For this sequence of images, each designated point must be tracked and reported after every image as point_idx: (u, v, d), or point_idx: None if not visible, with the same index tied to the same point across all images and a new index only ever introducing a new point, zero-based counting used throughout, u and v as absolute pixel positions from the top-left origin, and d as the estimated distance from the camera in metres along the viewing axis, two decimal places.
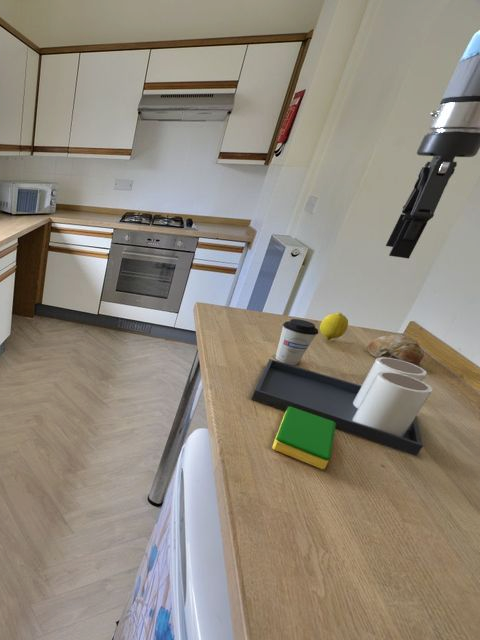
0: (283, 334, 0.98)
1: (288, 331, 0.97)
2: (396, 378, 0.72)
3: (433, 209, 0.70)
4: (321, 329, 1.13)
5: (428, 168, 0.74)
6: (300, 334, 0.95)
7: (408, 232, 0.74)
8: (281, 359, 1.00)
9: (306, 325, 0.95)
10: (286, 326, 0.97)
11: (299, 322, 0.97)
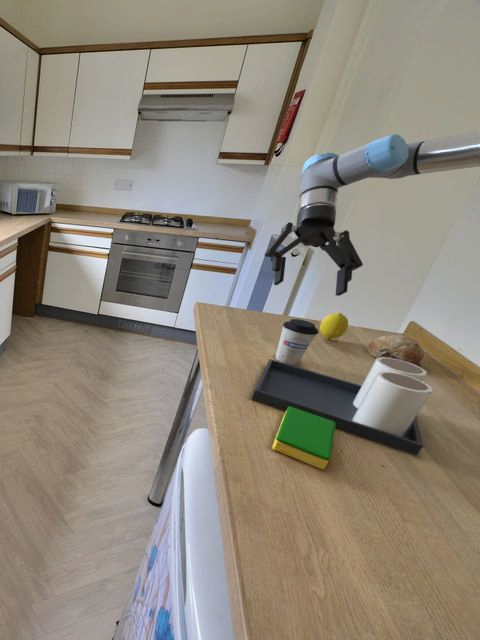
0: (283, 334, 0.98)
1: (288, 331, 0.97)
2: (396, 378, 0.72)
3: (271, 247, 1.02)
4: (321, 329, 1.13)
5: None
6: (300, 334, 0.95)
7: (272, 265, 1.03)
8: (281, 359, 1.00)
9: (306, 325, 0.95)
10: (286, 326, 0.97)
11: (299, 322, 0.97)
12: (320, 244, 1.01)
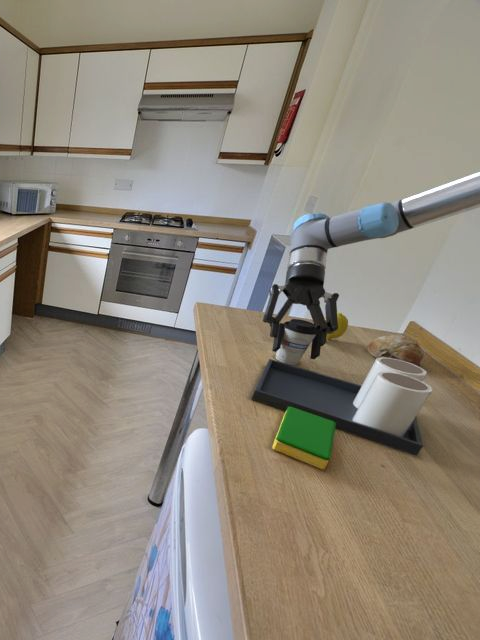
0: (283, 334, 0.98)
1: (288, 331, 0.97)
2: (396, 378, 0.72)
3: (266, 313, 1.01)
4: None
5: None
6: (300, 334, 0.95)
7: (270, 331, 1.00)
8: (281, 359, 1.00)
9: (306, 325, 0.95)
10: (286, 326, 0.97)
11: (299, 322, 0.97)
12: (308, 302, 0.99)
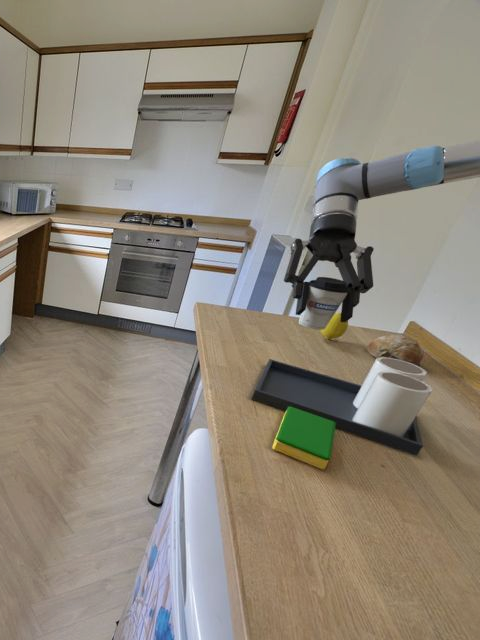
0: (308, 294, 0.85)
1: (314, 289, 0.83)
2: (396, 378, 0.72)
3: (288, 271, 0.87)
4: None
5: None
6: (329, 293, 0.82)
7: (293, 292, 0.87)
8: (306, 324, 0.86)
9: (336, 282, 0.82)
10: (312, 284, 0.84)
11: (327, 279, 0.83)
12: (337, 258, 0.86)
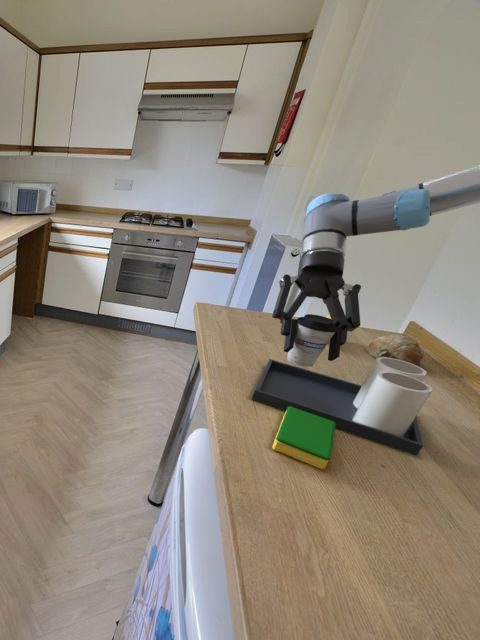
0: (296, 332, 0.85)
1: (302, 328, 0.84)
2: (396, 378, 0.72)
3: (277, 307, 0.87)
4: None
5: None
6: (316, 332, 0.82)
7: (281, 329, 0.87)
8: (293, 360, 0.87)
9: (323, 321, 0.82)
10: (300, 322, 0.84)
11: (315, 318, 0.83)
12: (325, 295, 0.86)
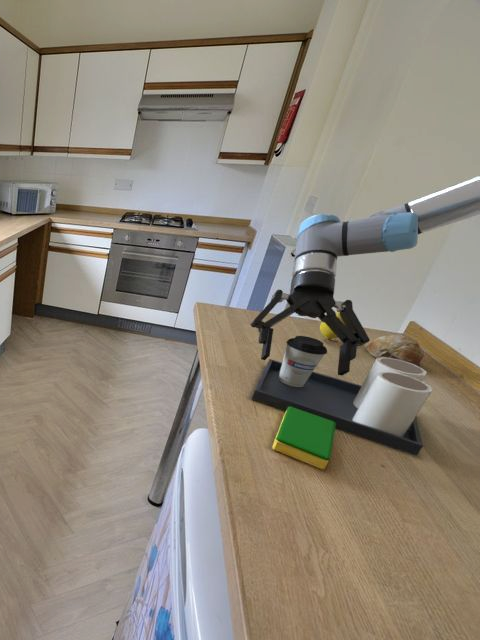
0: (287, 353, 0.87)
1: (292, 349, 0.86)
2: (396, 378, 0.72)
3: None
4: (321, 329, 1.13)
5: None
6: (306, 354, 0.84)
7: (259, 337, 0.90)
8: (285, 381, 0.89)
9: (313, 343, 0.84)
10: (290, 344, 0.86)
11: (305, 340, 0.86)
12: (317, 315, 0.88)
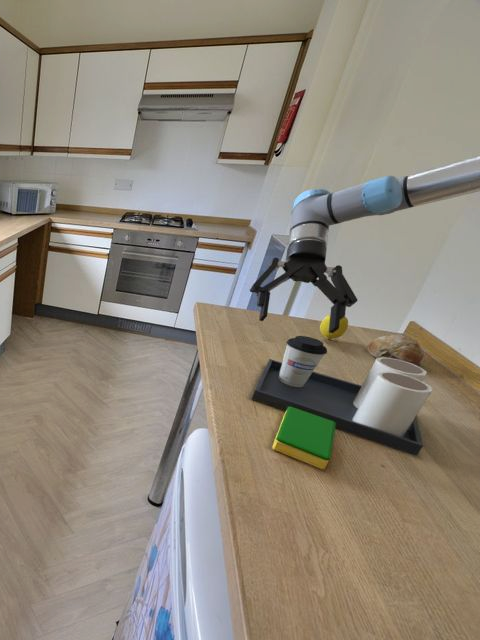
0: (287, 353, 0.87)
1: (292, 349, 0.86)
2: (396, 378, 0.72)
3: (255, 282, 0.99)
4: (321, 329, 1.13)
5: None
6: (306, 354, 0.84)
7: (257, 301, 0.99)
8: (285, 381, 0.89)
9: (313, 343, 0.84)
10: (290, 344, 0.86)
11: (305, 340, 0.86)
12: (310, 279, 0.97)
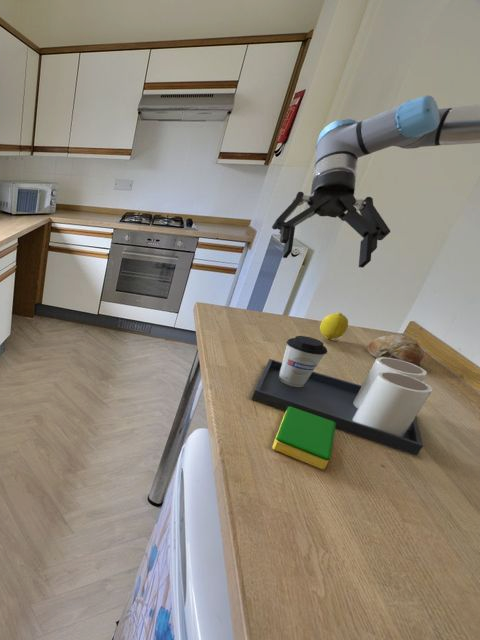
0: (287, 353, 0.87)
1: (292, 349, 0.86)
2: (396, 378, 0.72)
3: (278, 217, 0.93)
4: (321, 329, 1.13)
5: None
6: (306, 354, 0.84)
7: (280, 237, 0.93)
8: (285, 381, 0.89)
9: (313, 343, 0.84)
10: (290, 344, 0.86)
11: (305, 340, 0.86)
12: (337, 213, 0.90)
